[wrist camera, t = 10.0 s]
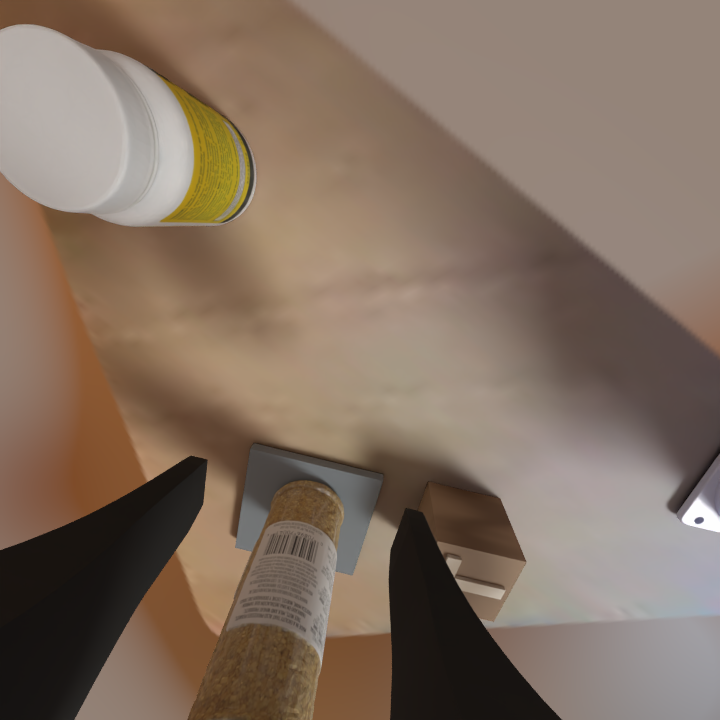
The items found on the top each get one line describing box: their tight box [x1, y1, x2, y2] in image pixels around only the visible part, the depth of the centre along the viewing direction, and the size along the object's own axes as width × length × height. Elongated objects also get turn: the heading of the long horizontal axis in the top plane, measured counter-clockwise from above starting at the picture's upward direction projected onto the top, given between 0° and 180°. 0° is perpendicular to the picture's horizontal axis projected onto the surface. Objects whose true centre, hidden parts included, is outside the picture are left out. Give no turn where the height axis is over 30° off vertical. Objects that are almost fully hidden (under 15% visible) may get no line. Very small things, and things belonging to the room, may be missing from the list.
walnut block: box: [417, 481, 526, 622], centre depth 21 cm, size 4×4×5 cm
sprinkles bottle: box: [188, 480, 344, 720], centre depth 16 cm, size 5×5×13 cm
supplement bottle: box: [0, 24, 257, 227], centre depth 13 cm, size 5×5×8 cm
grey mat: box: [235, 443, 383, 575], centre depth 23 cm, size 8×8×1 cm
